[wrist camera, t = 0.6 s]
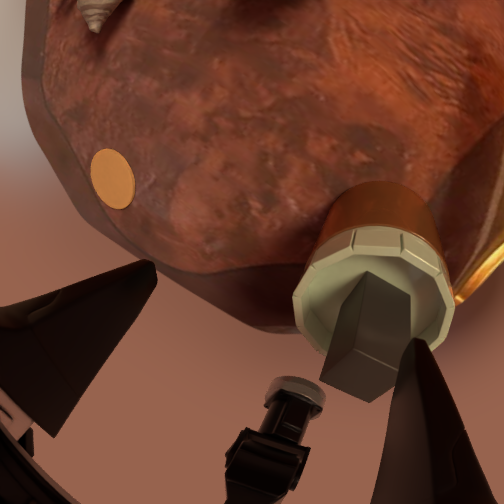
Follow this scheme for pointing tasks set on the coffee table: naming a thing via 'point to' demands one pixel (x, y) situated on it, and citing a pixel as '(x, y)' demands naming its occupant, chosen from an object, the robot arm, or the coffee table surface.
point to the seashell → (96, 12)
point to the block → (369, 339)
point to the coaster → (113, 178)
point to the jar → (376, 262)
